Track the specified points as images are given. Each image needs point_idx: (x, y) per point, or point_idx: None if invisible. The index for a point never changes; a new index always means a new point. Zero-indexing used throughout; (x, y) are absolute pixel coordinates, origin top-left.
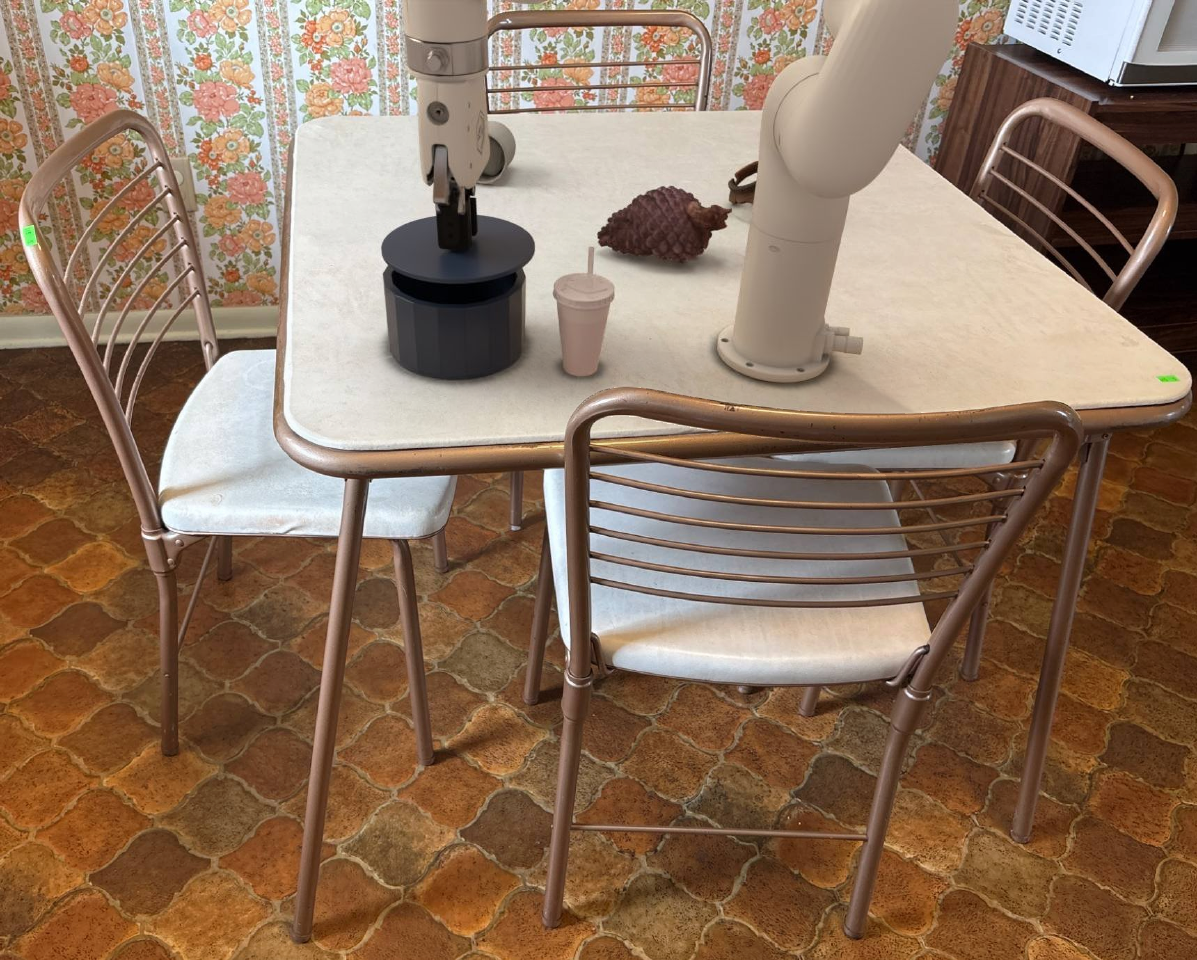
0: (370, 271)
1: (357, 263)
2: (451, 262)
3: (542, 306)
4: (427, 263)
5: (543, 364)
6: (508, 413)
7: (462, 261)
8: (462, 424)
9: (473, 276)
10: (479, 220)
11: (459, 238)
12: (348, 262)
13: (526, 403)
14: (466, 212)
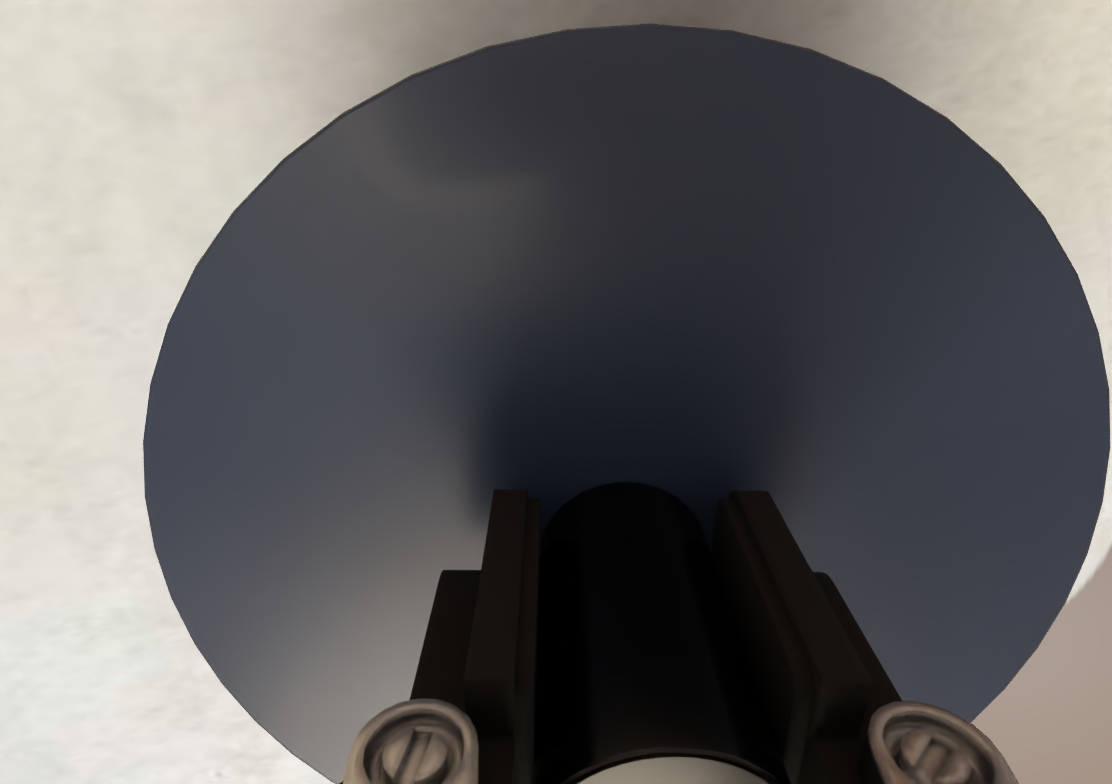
0: (209, 685)
1: (176, 725)
2: (875, 543)
3: (226, 98)
4: (883, 648)
5: (678, 18)
6: (1016, 98)
7: (858, 489)
8: (1071, 241)
9: (1086, 389)
10: (234, 507)
11: (830, 590)
12: (181, 745)
13: (954, 41)
14: (838, 693)
